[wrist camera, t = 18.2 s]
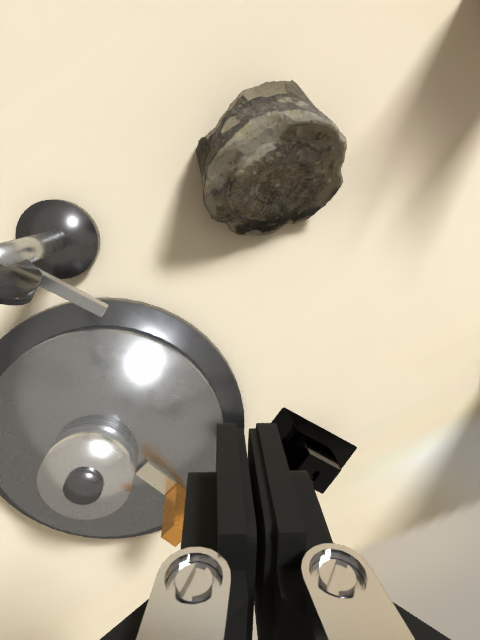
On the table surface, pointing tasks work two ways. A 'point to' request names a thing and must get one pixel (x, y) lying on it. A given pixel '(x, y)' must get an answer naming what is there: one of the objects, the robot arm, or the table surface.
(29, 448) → the platter
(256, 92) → the fossil
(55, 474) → the cover
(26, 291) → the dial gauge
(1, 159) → the table surface
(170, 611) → the robot arm
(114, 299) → the base
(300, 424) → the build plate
